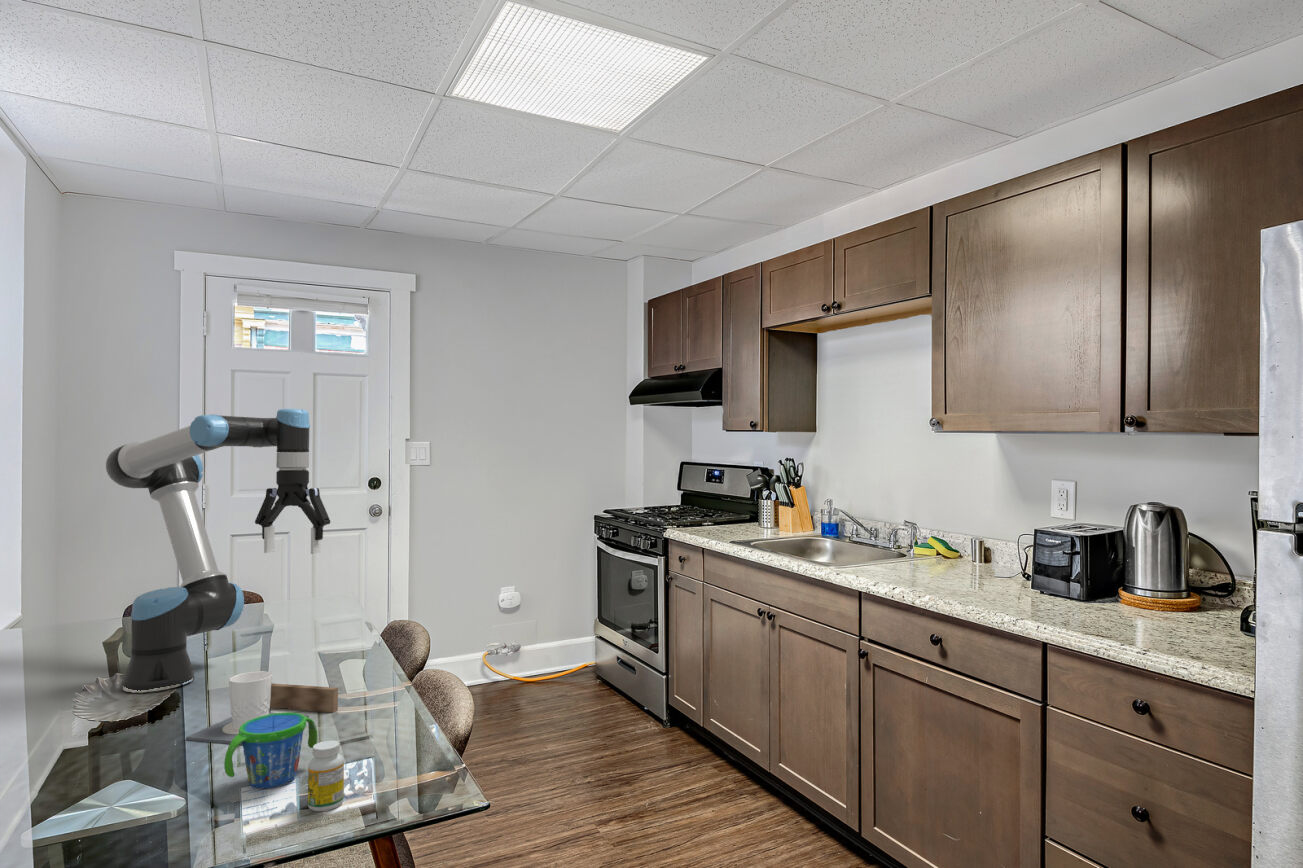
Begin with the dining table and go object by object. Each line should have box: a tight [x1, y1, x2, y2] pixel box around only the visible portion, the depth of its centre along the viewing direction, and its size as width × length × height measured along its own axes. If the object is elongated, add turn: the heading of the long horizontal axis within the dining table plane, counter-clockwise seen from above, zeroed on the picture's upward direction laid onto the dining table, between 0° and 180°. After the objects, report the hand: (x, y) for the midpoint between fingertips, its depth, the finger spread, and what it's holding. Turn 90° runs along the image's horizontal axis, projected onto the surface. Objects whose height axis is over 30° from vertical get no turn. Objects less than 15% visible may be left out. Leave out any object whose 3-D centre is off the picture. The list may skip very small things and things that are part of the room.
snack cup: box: [223, 711, 319, 789], centre depth 130 cm, size 16×10×10 cm
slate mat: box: [185, 711, 310, 746], centre depth 155 cm, size 16×16×1 cm
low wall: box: [269, 682, 339, 713], centre depth 168 cm, size 22×2×5 cm, turn 77°
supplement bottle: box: [307, 740, 345, 812], centre depth 120 cm, size 5×5×10 cm
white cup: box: [228, 670, 273, 730], centre depth 155 cm, size 8×8×10 cm
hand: (292, 552), depth 188 cm, fingers open, 13 cm apart
